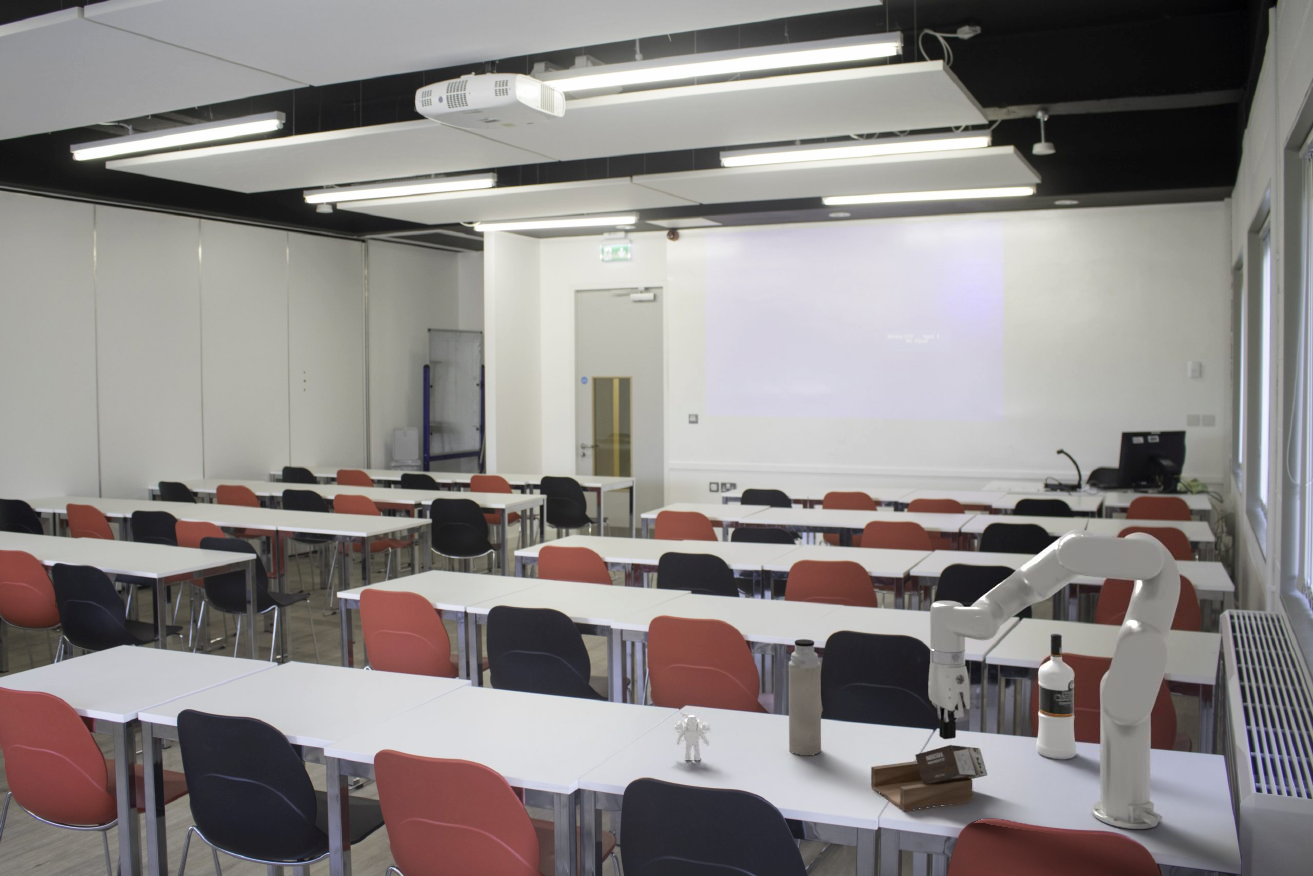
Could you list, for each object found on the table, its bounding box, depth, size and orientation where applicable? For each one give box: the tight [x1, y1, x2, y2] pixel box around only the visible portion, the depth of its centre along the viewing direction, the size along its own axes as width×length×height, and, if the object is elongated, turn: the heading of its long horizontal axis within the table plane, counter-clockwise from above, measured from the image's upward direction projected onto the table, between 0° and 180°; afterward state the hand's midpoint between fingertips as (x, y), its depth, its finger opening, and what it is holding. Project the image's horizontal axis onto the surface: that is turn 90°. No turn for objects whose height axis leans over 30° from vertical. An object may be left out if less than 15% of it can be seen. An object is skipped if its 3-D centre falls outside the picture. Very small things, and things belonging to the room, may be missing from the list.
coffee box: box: [914, 744, 988, 783], centre depth 217 cm, size 9×6×16 cm
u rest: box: [870, 760, 973, 812], centre depth 218 cm, size 14×17×5 cm
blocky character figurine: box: [673, 711, 712, 761], centre depth 242 cm, size 9×4×12 cm, turn 80°
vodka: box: [1035, 633, 1077, 761], centre depth 243 cm, size 9×9×30 cm
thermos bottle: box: [788, 638, 822, 756], centre depth 247 cm, size 8×8×28 cm
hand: (947, 737), depth 220 cm, fingers closed
